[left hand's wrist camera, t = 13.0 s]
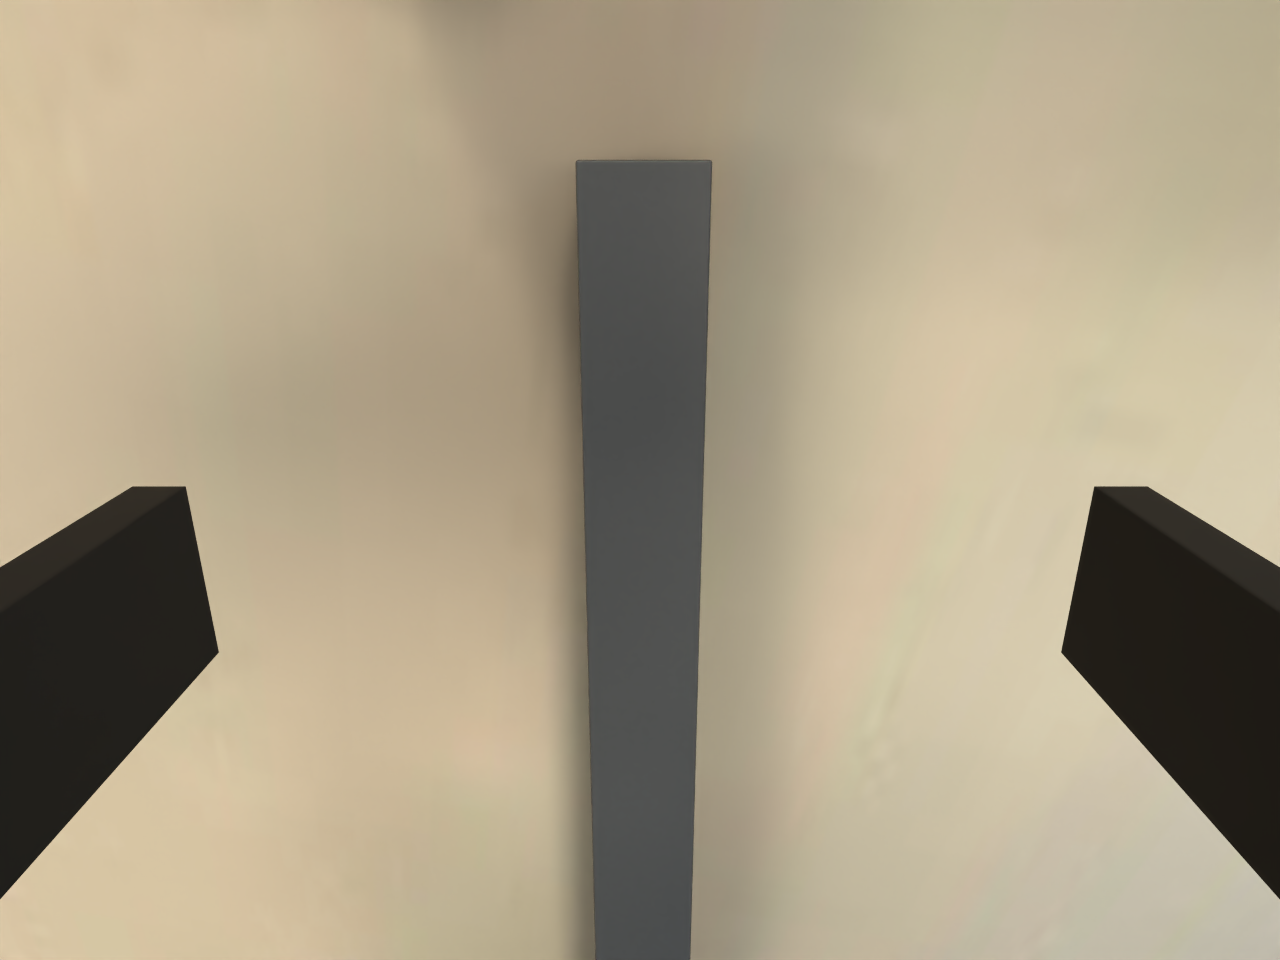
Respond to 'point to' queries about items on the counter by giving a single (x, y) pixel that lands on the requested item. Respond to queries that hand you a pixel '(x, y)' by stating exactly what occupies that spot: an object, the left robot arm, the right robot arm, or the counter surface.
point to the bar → (643, 535)
